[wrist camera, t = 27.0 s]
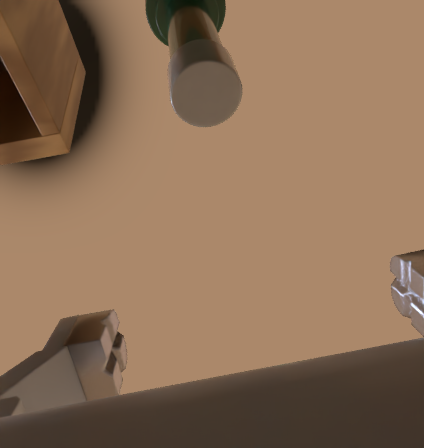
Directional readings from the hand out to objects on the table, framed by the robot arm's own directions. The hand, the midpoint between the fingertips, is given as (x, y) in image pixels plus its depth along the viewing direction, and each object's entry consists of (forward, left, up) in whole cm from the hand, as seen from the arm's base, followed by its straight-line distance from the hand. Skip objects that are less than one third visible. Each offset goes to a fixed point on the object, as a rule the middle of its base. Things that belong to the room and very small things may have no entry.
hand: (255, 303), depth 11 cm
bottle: (-5, +17, -5) cm, 19 cm away
